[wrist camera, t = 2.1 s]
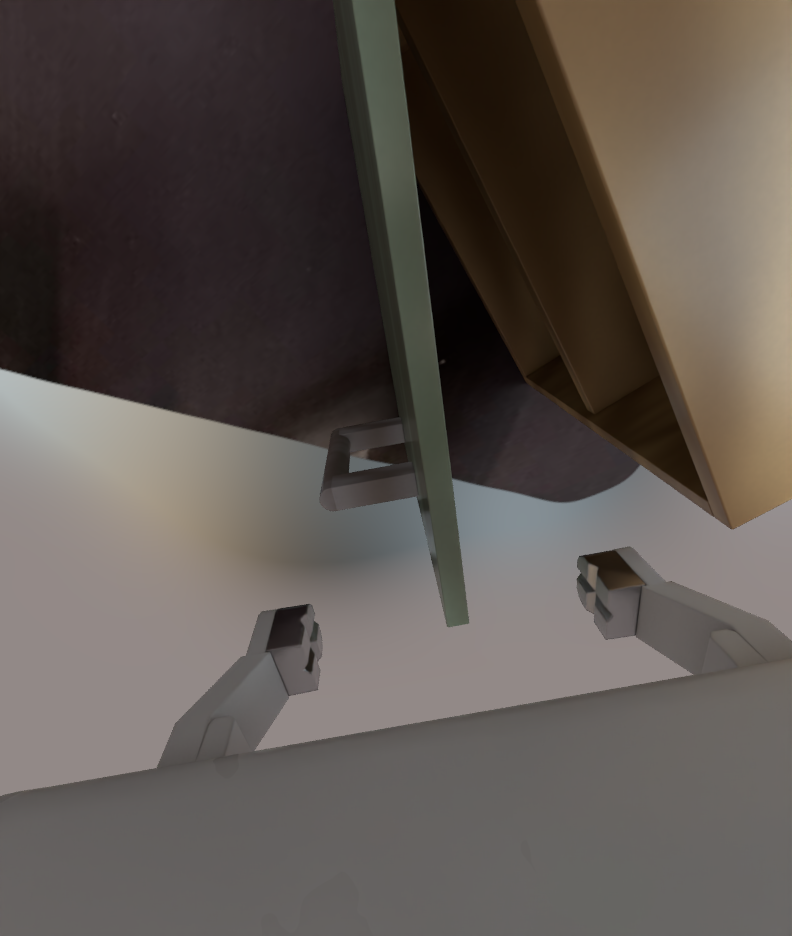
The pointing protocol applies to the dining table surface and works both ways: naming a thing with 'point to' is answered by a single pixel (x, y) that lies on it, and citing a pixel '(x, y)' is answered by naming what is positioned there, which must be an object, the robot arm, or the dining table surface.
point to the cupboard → (625, 216)
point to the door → (395, 301)
